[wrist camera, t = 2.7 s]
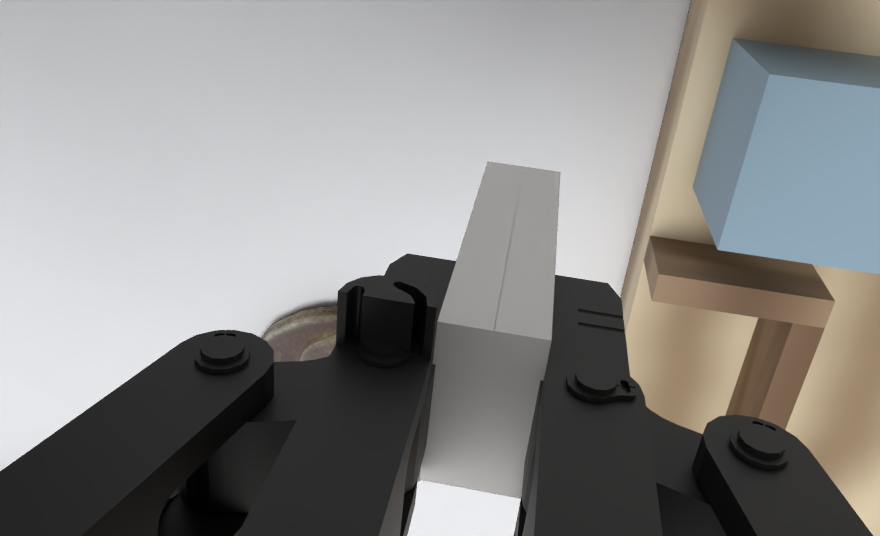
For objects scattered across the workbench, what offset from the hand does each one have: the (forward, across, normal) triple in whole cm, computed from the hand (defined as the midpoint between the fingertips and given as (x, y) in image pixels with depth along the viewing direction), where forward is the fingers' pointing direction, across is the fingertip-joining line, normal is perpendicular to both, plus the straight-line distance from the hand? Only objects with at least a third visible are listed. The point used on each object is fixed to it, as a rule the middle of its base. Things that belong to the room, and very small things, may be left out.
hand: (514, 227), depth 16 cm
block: (+11, +8, 0) cm, 14 cm away
